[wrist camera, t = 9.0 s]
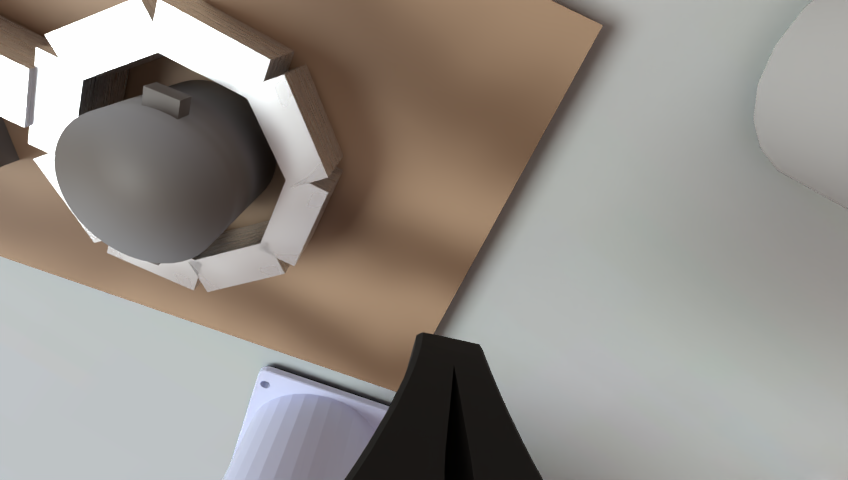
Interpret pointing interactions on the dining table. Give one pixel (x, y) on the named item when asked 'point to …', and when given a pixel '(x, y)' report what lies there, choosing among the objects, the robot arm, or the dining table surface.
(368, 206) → the board
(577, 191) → the dining table surface
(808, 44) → the can
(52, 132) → the collar
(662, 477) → the dining table surface
